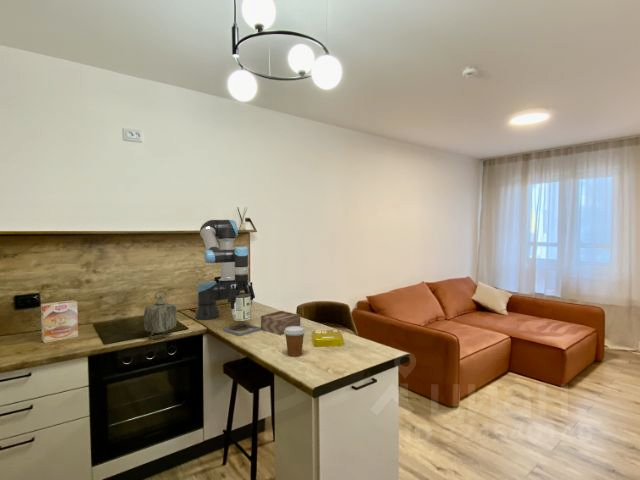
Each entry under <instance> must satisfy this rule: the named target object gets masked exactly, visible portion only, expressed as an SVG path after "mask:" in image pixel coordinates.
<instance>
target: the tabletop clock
mask: <svg viewBox="0 0 640 480" xmlns="http://www.w3.org/2000/svg"><path fill="white" fill-rule="evenodd" d="M159 293H164V296H159V297H157V295H158V294H159ZM166 296H167V292H166V291H165V290H159V291H157V292H156V293H155V294H154V298H155V299H156V301H155V303H153V304H149V305H147V306H146V307H145V308H144V312H143V324H144V325H143V326H144V330H145V331H146V332H151V334H150V335H148V337H147V339H149V340H151V339H152V336H153V335H154V334H155V333H156V334H161V333H162V338H164V339H165V338H166V337H167V335H168V334H169V331H170V330H172V329H174V328H176V326H177V321H178V320H177V319H178V316H177V315H178V314H177V313H178V312H177V307H176V305H175V304H173V303H166V300H165V299H164V298H166Z"/></svg>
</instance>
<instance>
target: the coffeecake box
mask: <svg viewBox="0 0 640 480" xmlns="http://www.w3.org/2000/svg"><path fill="white" fill-rule="evenodd" d="M40 310H41V312H40V313H41V314H40V315H41V316H40V318H41V321H40V322H41V341H42V343H44V344H46V343H53V342H57V341H63V340H68V339H69V340H70V339H73V338H74V339H75V338H78V337H79V321H78V320H79V318H78V317H79V315H78V312H79V311H78V301H77V300H73V299H72V300H63V301H57V302H48V303H40Z"/></svg>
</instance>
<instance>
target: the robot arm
mask: <svg viewBox="0 0 640 480" xmlns="http://www.w3.org/2000/svg"><path fill="white" fill-rule="evenodd" d="M238 233H239V229H238V225H237V222H236V221H235V220H233V219H209V220H206V221H205V222H204V223H203V224H202V225H201V226H200V230H199V235H200V237H201V238H202V239H203V243H204V245H205V251H204V262H205V263H206V264H218V263H219V264H220V272H221V273H220V275H221V276H220V278H219V280H218V282H217V281H216V280H209V281H204V282H201V283H199V284H198V285H197V308H196V312H195V316H194V317H195V319H196V320H201V321H206V320H207V321H209V320H214V319H217V318H219V317H220V311H219V308H218V305H217V302H218V301H225V300H227V303H230V309H231V314H232V316H233V315H236V303H235V301H236V296H238V294H239V293H241V291H244V292H245V293H247V294H249V293H251V306H252V305H253V301H254V299H255V298H256V294H255V292H254V287H253V282H251V281H249V274H248V273H249V249H248V247H247V246H236V247H234V241H235V240H236V238H237V237H238V235H239V234H238ZM218 241H219V243H220V245H219V243H218ZM233 295H234V296H233Z"/></svg>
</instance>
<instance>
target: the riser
mask: <svg viewBox="0 0 640 480" xmlns="http://www.w3.org/2000/svg"><path fill="white" fill-rule="evenodd" d="M290 326H301V314H298V313H295V312H290V311H289V312H288V311H284V310H279V311H274V312H271V313H270V312H269V313H266V314H263V315H260V328H261V330H260V331H264V332H268V333H271V334H274V335H277V336H278V335H279V336H282V335H285V333H284V331H285V328H287V327H290Z"/></svg>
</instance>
